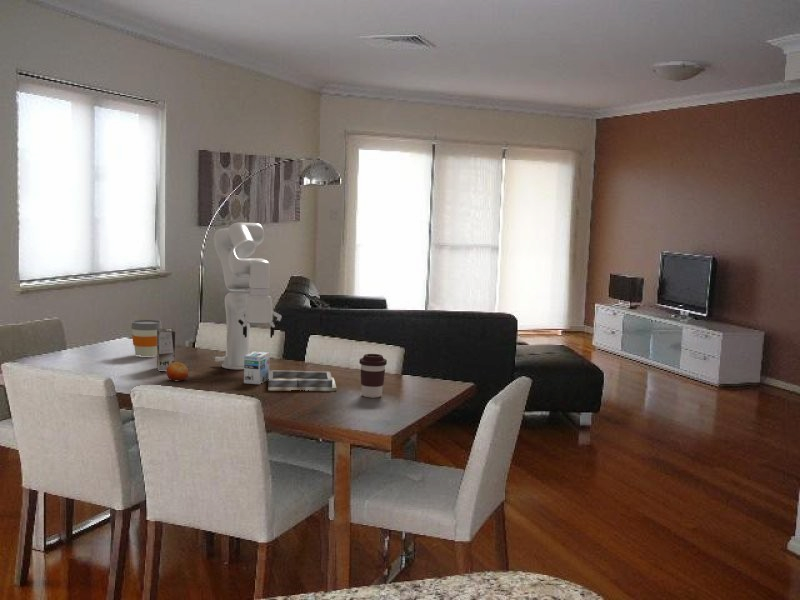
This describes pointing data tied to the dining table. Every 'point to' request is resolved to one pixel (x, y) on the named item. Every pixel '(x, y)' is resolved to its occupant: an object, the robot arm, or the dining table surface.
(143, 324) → the reusable coffee cup
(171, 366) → the fruit
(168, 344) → the coffee box
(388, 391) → the dining table surface
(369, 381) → the coffee cup
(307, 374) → the gray shallow tray
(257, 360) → the light bulb box
